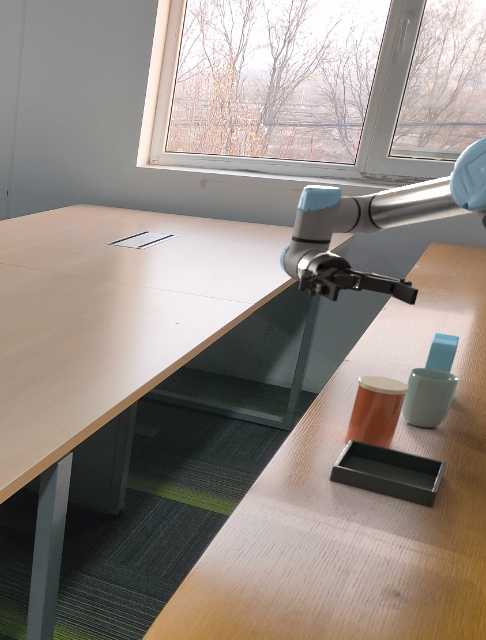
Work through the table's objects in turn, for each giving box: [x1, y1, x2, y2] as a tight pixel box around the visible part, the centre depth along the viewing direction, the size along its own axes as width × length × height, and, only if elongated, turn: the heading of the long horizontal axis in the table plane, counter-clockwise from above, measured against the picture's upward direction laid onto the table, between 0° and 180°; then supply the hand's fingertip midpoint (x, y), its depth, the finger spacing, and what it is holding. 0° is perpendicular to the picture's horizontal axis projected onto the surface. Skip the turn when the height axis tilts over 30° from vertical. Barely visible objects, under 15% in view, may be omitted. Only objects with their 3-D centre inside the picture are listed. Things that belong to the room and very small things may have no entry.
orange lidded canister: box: [344, 375, 409, 449], centre depth 139 cm, size 8×8×12 cm
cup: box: [401, 367, 459, 429], centre depth 152 cm, size 8×8×10 cm
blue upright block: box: [424, 332, 460, 373], centre depth 169 cm, size 12×4×12 cm, turn 146°
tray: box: [329, 440, 448, 508], centre depth 128 cm, size 14×14×3 cm
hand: (375, 295), depth 141 cm, fingers open, 13 cm apart
